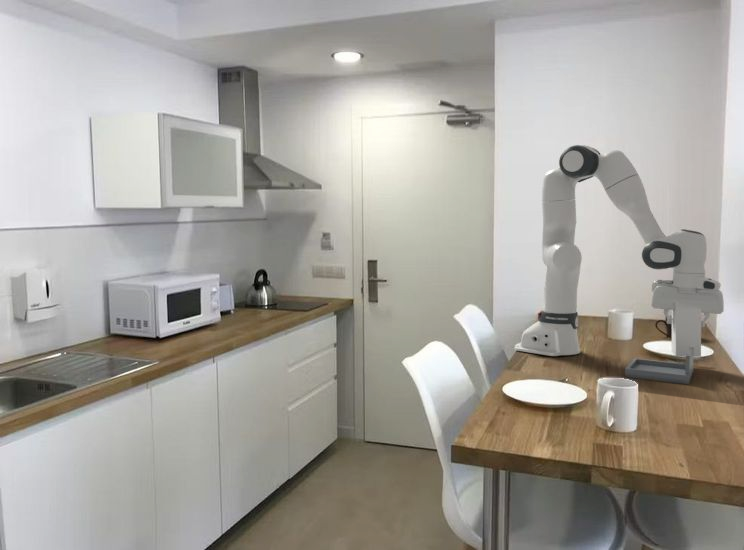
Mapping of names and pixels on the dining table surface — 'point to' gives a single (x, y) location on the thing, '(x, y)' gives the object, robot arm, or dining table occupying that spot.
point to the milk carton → (686, 329)
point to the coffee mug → (668, 327)
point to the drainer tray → (662, 369)
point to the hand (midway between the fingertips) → (685, 325)
